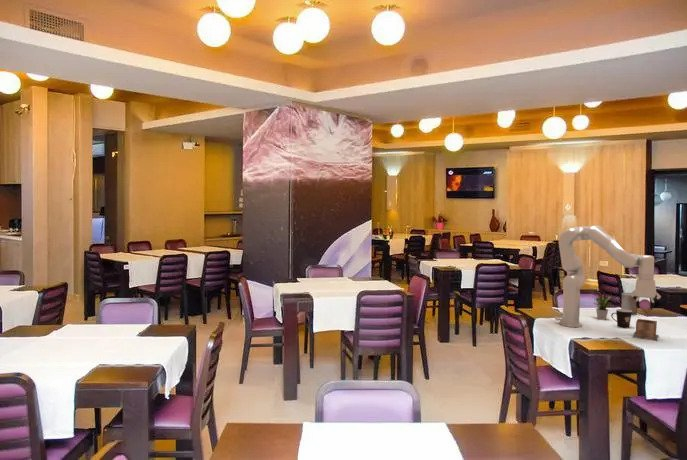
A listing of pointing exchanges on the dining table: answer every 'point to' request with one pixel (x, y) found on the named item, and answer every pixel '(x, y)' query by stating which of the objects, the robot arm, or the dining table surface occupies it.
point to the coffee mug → (623, 318)
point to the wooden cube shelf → (646, 329)
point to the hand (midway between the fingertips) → (644, 308)
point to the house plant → (602, 307)
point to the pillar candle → (629, 303)
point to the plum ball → (644, 304)
